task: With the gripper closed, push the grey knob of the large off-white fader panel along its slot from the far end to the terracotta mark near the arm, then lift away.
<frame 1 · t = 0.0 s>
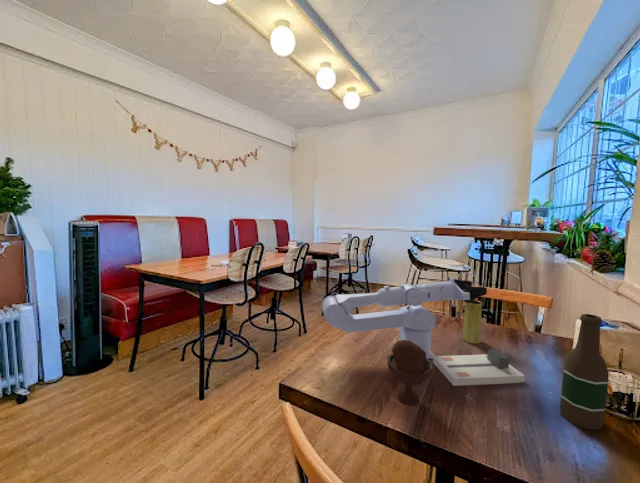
hand: (478, 287, 95), 22 cm above the table, tool horizontal, fingers open, 7 cm apart
fader panel: (475, 371, 85), on the table
vase: (471, 340, 106), on the table
ice cream bowl: (408, 398, 74), on the table
beer bottle: (579, 419, 67), on the table
fader knob: (497, 358, 85), point 4 cm above the table, slide at 0.0 cm
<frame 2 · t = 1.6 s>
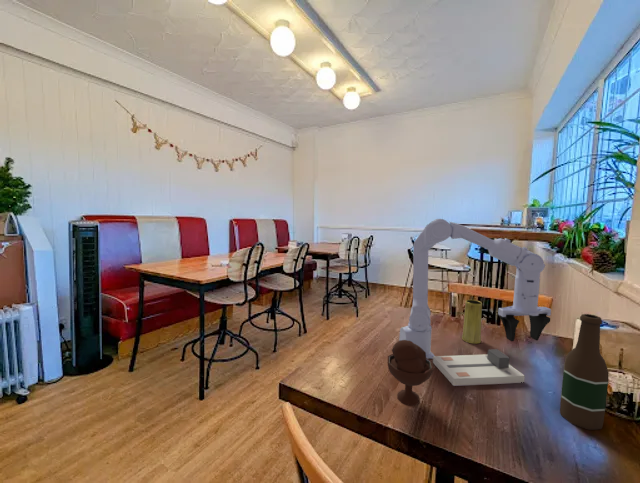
hand: (522, 339, 85), 9 cm above the table, tool pointing down, fingers open, 7 cm apart
nothing on the table moved.
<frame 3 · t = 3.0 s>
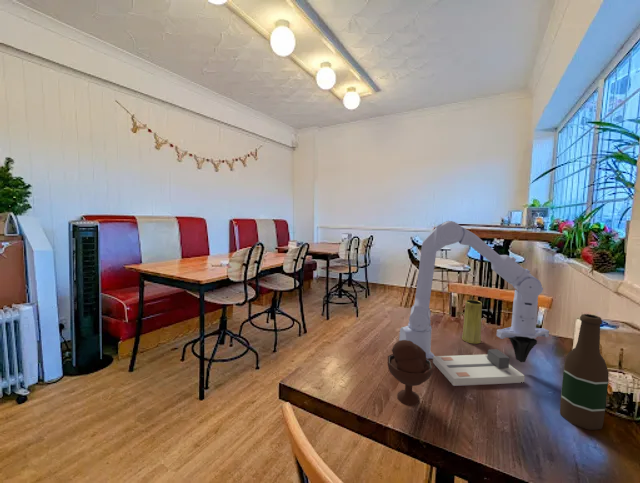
hand: (520, 360, 86), 3 cm above the table, tool pointing down, fingers closed
nothing on the table moved.
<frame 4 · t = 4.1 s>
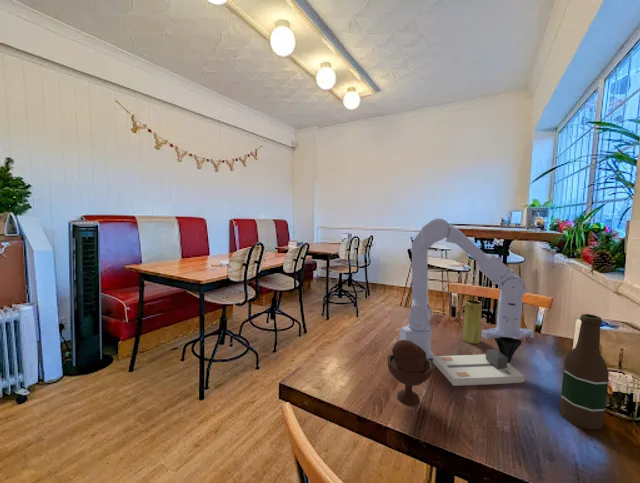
hand: (505, 361, 86), 3 cm above the table, tool pointing down, fingers closed
fader knob: (496, 358, 85), point 4 cm above the table, slide at 0.5 cm, touching gripper
everything else where it was.
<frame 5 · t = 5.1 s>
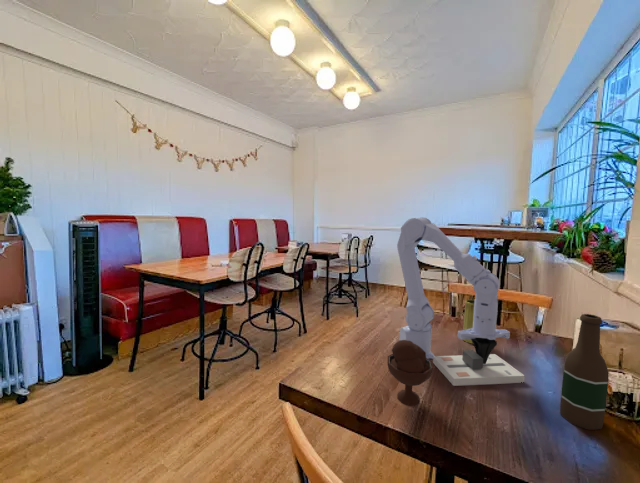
hand: (481, 362, 85), 3 cm above the table, tool pointing down, fingers closed
fader knob: (472, 359, 85), point 4 cm above the table, slide at 7.7 cm, touching gripper
everything else where it was.
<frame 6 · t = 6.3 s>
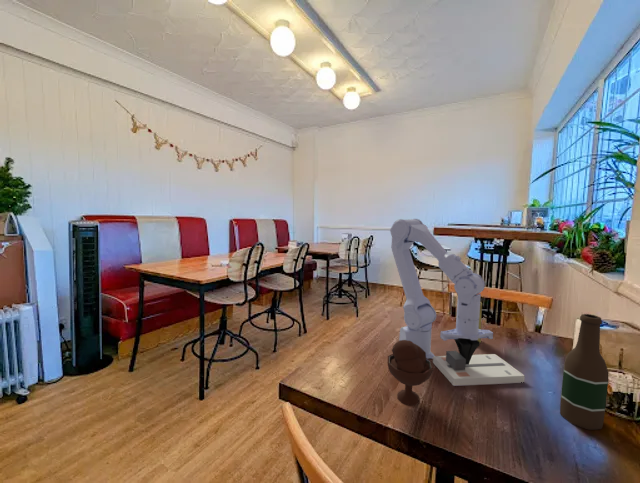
hand: (464, 362, 85), 3 cm above the table, tool pointing down, fingers closed
fader knob: (455, 360, 84), point 4 cm above the table, slide at 12.8 cm, touching gripper
everything else where it was.
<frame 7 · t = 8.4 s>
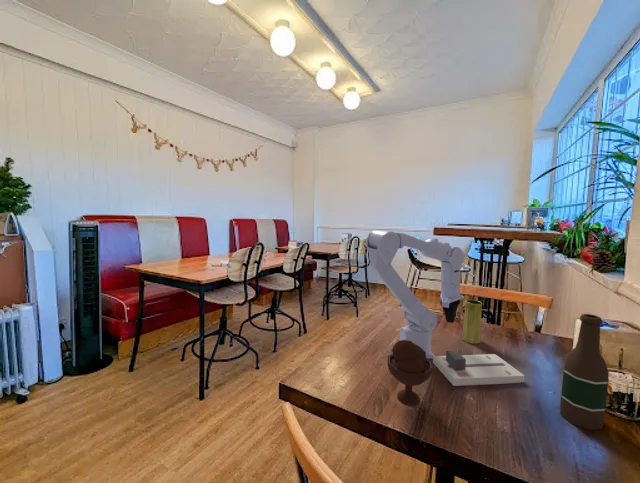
hand: (450, 321, 99), 9 cm above the table, tool pointing down, fingers closed
fader knob: (455, 360, 84), point 4 cm above the table, slide at 12.8 cm
everything else where it was.
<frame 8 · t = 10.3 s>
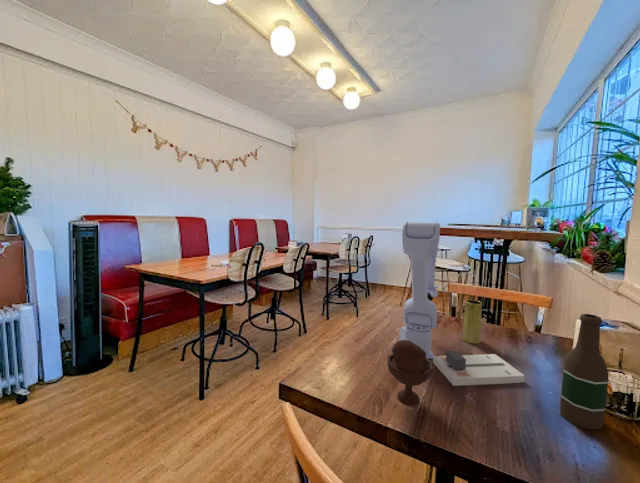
hand: (424, 310, 110), 9 cm above the table, tool pointing down, fingers closed
nothing on the table moved.
at the end: fader knob slide at 12.8 cm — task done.
